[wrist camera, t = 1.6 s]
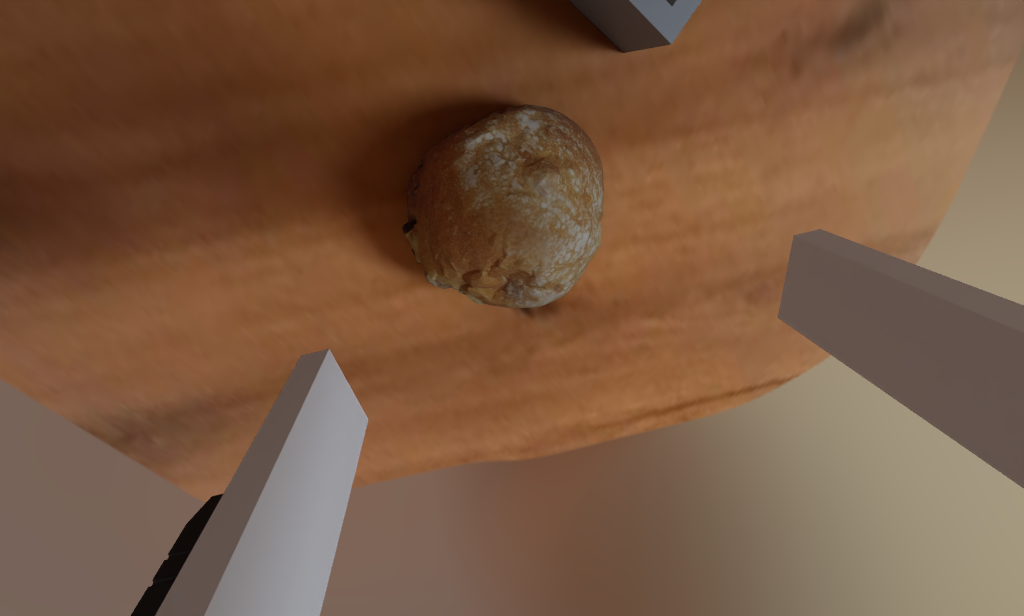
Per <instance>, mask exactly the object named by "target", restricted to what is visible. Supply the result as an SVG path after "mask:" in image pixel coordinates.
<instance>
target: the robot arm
mask: <svg viewBox="0 0 1024 616" xmlns="http://www.w3.org/2000/svg"><path fill="white" fill-rule="evenodd" d="M778 318H779V319H780V320H782V321H783V322H785V323H786V324H788V325H789V326H790V327H792V328H793V329H795V330H796V331H798V332H799V333H800V334H802V335H803V336H805V337H806V338H808V339H809V340H811V341H812V342H813V343H815V344H816V345H818V346H819V347H821V348H822V349H824V350H825V351H826V352H828V353H829V354H831V355H832V356H834V357H835V358H837V359H838V360H839V361H841V362H843V363H844V364H845V365H847V366H848V367H849V368H851V369H852V370H854V371H855V372H857V373H858V374H860V375H861V376H863V377H864V378H865V379H867V380H868V381H870V382H871V383H873V384H874V385H875V386H877V387H878V388H880V389H881V390H883V391H884V392H886V393H887V394H888V395H890V396H891V397H893V398H894V399H896V400H897V401H899V402H900V403H901V404H903V405H904V406H906V407H907V408H909V409H910V410H911V411H913V412H914V413H916V414H917V415H919V416H920V417H922V418H923V419H924V420H926V421H927V422H929V423H930V424H932V425H933V426H935V427H936V428H937V429H939V430H940V431H942V432H943V433H945V434H946V435H947V436H949V437H950V438H952V439H953V440H955V441H956V442H958V443H959V444H960V445H962V446H963V447H965V448H966V449H968V450H969V451H971V452H972V453H973V454H975V455H977V456H978V457H979V458H981V459H982V460H984V461H985V462H986V463H988V464H989V465H991V466H992V467H994V468H995V469H997V470H998V471H999V472H1001V473H1002V474H1004V475H1005V476H1007V477H1008V478H1009V479H1011V480H1012V481H1014V482H1015V483H1017V484H1018V485H1020V486H1021V487H1022V488H1024V305H1021V304H1018V303H1015V302H1013V301H1010V300H1007V299H1005V298H1002V297H999V296H997V295H994V294H991V293H989V292H986V291H983V290H980V289H978V288H975V287H973V286H970V285H967V284H965V283H962V282H959V281H957V280H954V279H951V278H949V277H946V276H943V275H941V274H938V273H935V272H933V271H930V270H927V269H925V268H922V267H920V266H917V265H914V264H912V263H909V262H906V261H904V260H901V259H898V258H896V257H893V256H890V255H888V254H885V253H882V252H880V251H877V250H874V249H872V248H869V247H866V246H864V245H861V244H858V243H856V242H853V241H850V240H848V239H845V238H842V237H840V236H837V235H834V234H832V233H829V232H826V231H824V230H821V229H819V230H815V231H811V232H806V233H802V234H798V235H794V237H793V242H792V247H791V252H790V257H789V262H788V267H787V273H786V278H785V283H784V288H783V293H782V298H781V303H780V309H779V314H778ZM367 423H368V418H367V416H366V414H365V412H364V411H363V409H362V407H361V405H360V403H359V402H358V400H357V398H356V396H355V395H354V393H353V391H352V389H351V387H350V386H349V384H348V382H347V380H346V378H345V377H344V375H343V373H342V371H341V369H340V368H339V366H338V364H337V362H336V360H335V359H334V357H333V355H332V353H331V351H330V350H329V349H327V350H323V351H318V352H314V353H310V354H306V355H302V356H301V357H300V359H299V360H298V362H297V364H296V366H295V368H294V369H293V371H292V373H291V375H290V377H289V378H288V380H287V382H286V384H285V385H284V387H283V389H282V391H281V393H280V394H279V396H278V398H277V400H276V401H275V403H274V405H273V407H272V409H271V410H270V412H269V414H268V416H267V417H266V419H265V421H264V423H263V425H262V426H261V428H260V430H259V432H258V433H257V435H256V437H255V439H254V441H253V442H252V444H251V446H250V448H249V449H248V451H247V453H246V455H245V457H244V458H243V460H242V462H241V464H240V466H239V467H238V469H237V471H236V473H235V474H234V476H233V478H232V480H231V482H230V483H229V485H228V487H227V489H226V490H225V492H224V494H220V495H216V496H212V497H211V498H210V499H209V500H208V501H207V502H206V503H205V504H204V506H203V507H202V508H201V509H200V510H199V511H198V512H197V513H196V514H195V515H194V517H193V518H192V519H191V520H190V521H189V522H188V523H187V524H186V526H185V528H184V529H183V531H182V532H181V534H180V536H179V537H178V539H177V540H176V542H175V544H174V545H173V547H172V549H171V550H170V552H169V554H168V555H169V558H168V559H167V560H164V562H163V564H162V565H161V567H160V568H159V570H158V572H157V573H156V575H155V577H154V579H153V585H152V586H151V587H148V588H147V590H146V591H145V593H144V595H143V597H142V598H141V600H140V601H139V603H138V605H137V606H136V608H135V609H134V611H133V613H132V614H131V616H320V612H321V608H322V604H323V600H324V596H325V592H326V588H327V584H328V580H329V575H330V572H331V568H332V564H333V560H334V556H335V551H336V548H337V544H338V540H339V536H340V532H341V528H342V523H343V520H344V516H345V511H346V508H347V504H348V499H349V495H350V491H351V487H352V483H353V479H354V475H355V471H356V467H357V463H358V459H359V455H360V451H361V447H362V443H363V439H364V435H365V431H366V427H367Z"/></svg>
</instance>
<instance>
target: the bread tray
mask: <svg viewBox="0 0 1024 616" xmlns="http://www.w3.org/2000/svg"><path fill="white" fill-rule="evenodd" d="M569 1H570V2H571V3H572V4H573V5H574V6H575V7H576V8H577V9H578V10H579V11H580V12H581V13H582V14H583V15H584V16H585V17H586V18H588V19H589V20H590V21H591V22H592V23H593V24H594V25H595V26H596V27H597V28H598V29H599V30H600V31H601V32H602V33H603V34H604V35H605V36H606V37H607V38H608V39H609V40H611V41H612V42H613V43H614V44H615V45H616V46H617V47H618V48H619V49H620V50H621V51H622V52H623V53H626V52H632V51H637V50H643V49H648V48H654V47H659V46H665V45H670V44H672V43H673V41H674V40H675V38H676V37H677V36H678V34H679V33H680V31H681V30H682V28H683V27H684V25H685V24H686V23H687V21H688V20H689V18H690V17H691V15H692V14H693V13H694V11H695V10H696V8H697V7H698V5H699V4H700V2H701V1H702V0H569Z"/></svg>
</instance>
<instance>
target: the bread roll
mask: <svg viewBox="0 0 1024 616" xmlns="http://www.w3.org/2000/svg"><path fill="white" fill-rule="evenodd" d="M407 193H408V195H407V205H408V223H406V224H404V226H403V228H402V229H403V233H404V235H405V236H406V238H407V239H408V241H409V243H410V245H411V247H412V251H413V253H414V255H415V257H416V260H417V263H422V264H423V266H424V267H425V269H426V271H425V274H424V275H425V277H426V278H427V279H428V281H429V282H430V283H432V284H433V285H434V286H438V287H441V288H443V289H445V288H449V287H451V288H454V289H456V290H459V293H461V294H465V295H467V297H468V298H469V299H471V300H472V301H474V302H476V303H478V304H481V305H482V304H488V305H493V306H501V307H508V308H529V307H539V306H542V305H545V304H547V303H550V302H552V301H555V300H557V299H559V298H561V297H563V296H564V295H565V294H567V293H568V291H569V290H570V289H571V288H572V287H573V286H574V285H575V283H576V282H577V281H578V280H579V278H580V277H581V276H582V274H583V273H584V272H585V270H586V266H587V265H588V263H589V262H590V261H591V259H592V258H593V256H594V254H595V252H596V251H597V250H598V247H600V246H601V242H600V238H601V227H602V224H601V223H600V219H601V218H602V215H603V201H604V185H603V169H602V164H601V161H600V157H599V155H598V152H597V150H596V148H595V146H594V145H593V143H592V141H591V139H590V138H589V137H588V136H587V134H586V133H585V132H584V131H583V130H582V129H581V128H580V127H579V126H578V125H577V124H576V123H575V122H574V121H572V120H571V119H569V118H568V117H566V116H565V115H563V114H561V113H560V112H557V111H555V110H552V109H549V108H546V107H539V106H533V105H523V106H519V107H514V106H508V107H507V108H505V109H504V110H502V111H494V112H493V113H492V114H491V115H490V116H489V117H486V118H482V119H480V120H479V121H478V122H476V123H475V124H465V125H463V127H462V128H461V129H459V130H457V131H455V132H453V133H451V134H450V135H449V136H448V137H447V138H446V139H443V140H440V141H439V142H438V143H437V144H436V145H435V146H434V147H433V148H431V149H429V150H427V152H426V153H425V154H424V155H423V157H422V160H421V162H420V164H419V167H418V170H417V171H416V172H415V173H414V174H413V176H412V177H411V179H410V181H409V184H408V189H407Z"/></svg>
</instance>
